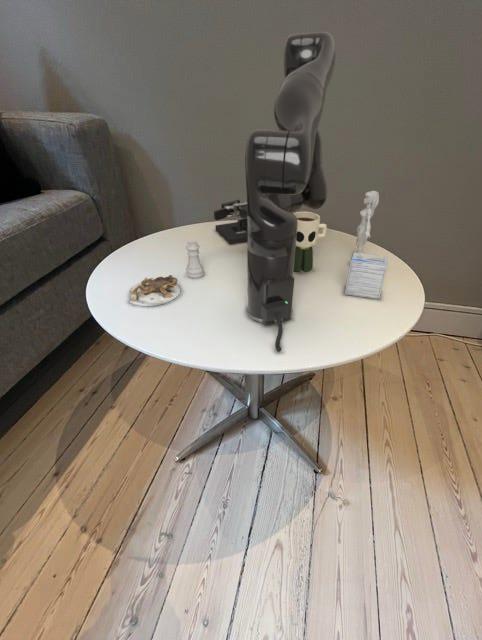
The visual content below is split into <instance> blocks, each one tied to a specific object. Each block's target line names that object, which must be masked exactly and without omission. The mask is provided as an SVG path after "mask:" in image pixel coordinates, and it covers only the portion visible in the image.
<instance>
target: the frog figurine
mask: <svg viewBox="0 0 482 640" xmlns="http://www.w3.org/2000/svg"><path fill="white" fill-rule="evenodd" d="M178 282H179V281H178V278H177V277H174V276H173V275H172V274H169V275H168V276H165V277H163V276H158V277H156V278H153V277H151V278H147V277H145V278H144V279H143V280H142V281H141V282H140V283H139V284H137V285H135V286H133V287H131V288H130V290H129V293H130V296H129V301H128V302H129V304H132V305H134V306H138V307H154V306H162V305H166V304H168V303H170V302H172V301H173V300H175V299H176V298H178V296H180V295H181V294H180V293H181V291H182V290H180V287H179V285H178Z"/></svg>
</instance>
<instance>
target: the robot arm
mask: <svg viewBox="0 0 482 640" xmlns="http://www.w3.org/2000/svg"><path fill="white" fill-rule="evenodd" d="M335 65H336V43H335V39H334V37H333V35H332V34H331V33H330V32H327V31H313V32H311V31H310V32H303V33H294V34H290V35H288V37H287V38H286V39H285V44H284V49H283V69H284V70H283V72H284V79H283V81H282V83H281V84H280V86H279V89H278V92H277V94H276V97H275V101H274V104H273V117H274V122H275V124H276V126H277V127H278V129H268V128H267V129H265V128H257V129H254V130H252V131H251V132H250V133H249V135H248V137H247V140H246V145H245V152H244V153H245V155H244V162H245V163H244V167H245V168H244V170H245V171H244V173H245V188H246V201H245V202H241V200H240V199H235V200H232V201H231V200H230V201H228V202H223V203H221V204H220V205H221V208H220V209H216V210H214V211H213V219H214V221H220V220H223V219H227V218H233V219H235V220H236V222H237V228H238V229H240V230H241V229H244V228H247V231H246V232H247V242H246V243H247V246H246V252H247V254H246V266H247V267H246V301H247V302H246V303H247V304H246V314H247V316H248V317H249V318H250V319H251V320H253V321H254V322H256V323H257V322H258V323H261V324H263V326H270V325H274V324H277V335H276V338H275V343H274V344H275V345H274V347H275V349H276V351H277V352H278V353H279V352H281V351H282V347H281V340H282V337H283V331H284V329H283V327H284V326H283V322H286V321H290V320H292V312H293V301H294V291H295V290H294V288H295V277H294V259H295V248H296V237H297V227H298V221H297V218H296V216H295V215H294V214H293V213H296V212H298V211H299V210H300V209H301V208H302V206H305V207H307V208H309V209H312V210H318V209H321V208H322V207H323V206H324V204H325V203H326V201H327V198H328V184H327V180H326V176H325V172H324V168H323V165H322V164H323V141H322V136H321V132H320V130H319V125H320V121H321V119H322V116H323V115H322V114H323V110H324V106H325V100H326V93H327V89H328V87H329V85H330V82H331V80H332V77H333V74H334V70H335Z"/></svg>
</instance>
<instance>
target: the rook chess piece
mask: <svg viewBox="0 0 482 640" xmlns="http://www.w3.org/2000/svg"><path fill="white" fill-rule="evenodd" d="M185 249H186V250H187V256H188V261H187V262H188V263H187V267H186V268H185V271H186V272H185V274H186V276H187V277H188V278H190V279H199V278H202V277H203V276H204V275H205V272H204V266H202V264H201V261H200V258H199V257H200V252H199V249H200V245H199V244H198V241H196V240H195V241H193V240H191V241H187V242H186V246H185Z"/></svg>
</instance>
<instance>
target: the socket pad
mask: <svg viewBox="0 0 482 640" xmlns="http://www.w3.org/2000/svg"><path fill="white" fill-rule="evenodd" d="M242 231H243V232H242ZM215 232H217V233H218V234H219V235H220V237H222V238H223V239H224V240H225V241H226V242H227V243H228V244H229V245H237V244H243V243H247V228H244V229H241V230H240V229H238V228H237V221H236V222H229V223H222V224H215Z"/></svg>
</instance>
